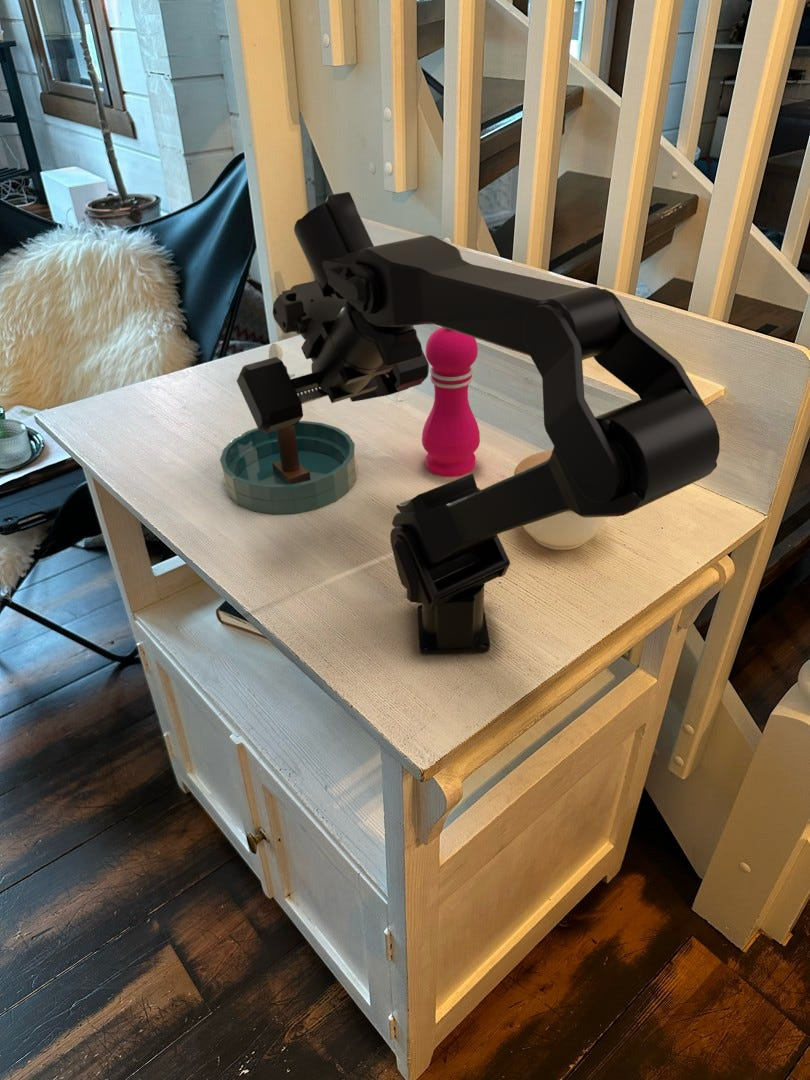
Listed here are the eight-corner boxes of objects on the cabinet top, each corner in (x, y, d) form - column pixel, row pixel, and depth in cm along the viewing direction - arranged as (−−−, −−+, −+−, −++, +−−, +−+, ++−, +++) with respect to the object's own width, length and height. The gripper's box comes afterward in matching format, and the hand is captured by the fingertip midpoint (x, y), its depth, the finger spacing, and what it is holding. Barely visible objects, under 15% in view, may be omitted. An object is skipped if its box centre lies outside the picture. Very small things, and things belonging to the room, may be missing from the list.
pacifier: (267, 398, 115) (301, 385, 118) (260, 359, 112) (295, 347, 114) (245, 382, 120) (277, 371, 123) (237, 345, 116) (271, 334, 119)
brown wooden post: (310, 481, 94) (297, 371, 85) (290, 488, 92) (275, 378, 84) (293, 465, 97) (278, 358, 88) (273, 472, 96) (256, 364, 87)
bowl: (355, 517, 88) (352, 484, 86) (216, 522, 88) (209, 489, 86) (358, 449, 101) (356, 418, 99) (237, 453, 101) (232, 423, 99)
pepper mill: (475, 486, 93) (480, 327, 81) (417, 481, 94) (414, 324, 83) (482, 457, 99) (487, 305, 87) (427, 452, 100) (425, 302, 88)
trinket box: (581, 576, 78) (591, 500, 73) (492, 541, 84) (495, 467, 78) (624, 526, 85) (636, 454, 80) (539, 497, 90) (545, 427, 85)
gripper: (410, 241, 72) (357, 322, 86) (227, 280, 63) (201, 363, 77) (460, 345, 71) (398, 410, 85) (281, 399, 63) (245, 461, 77)
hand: (314, 408), depth 81 cm, fingers open, 9 cm apart
